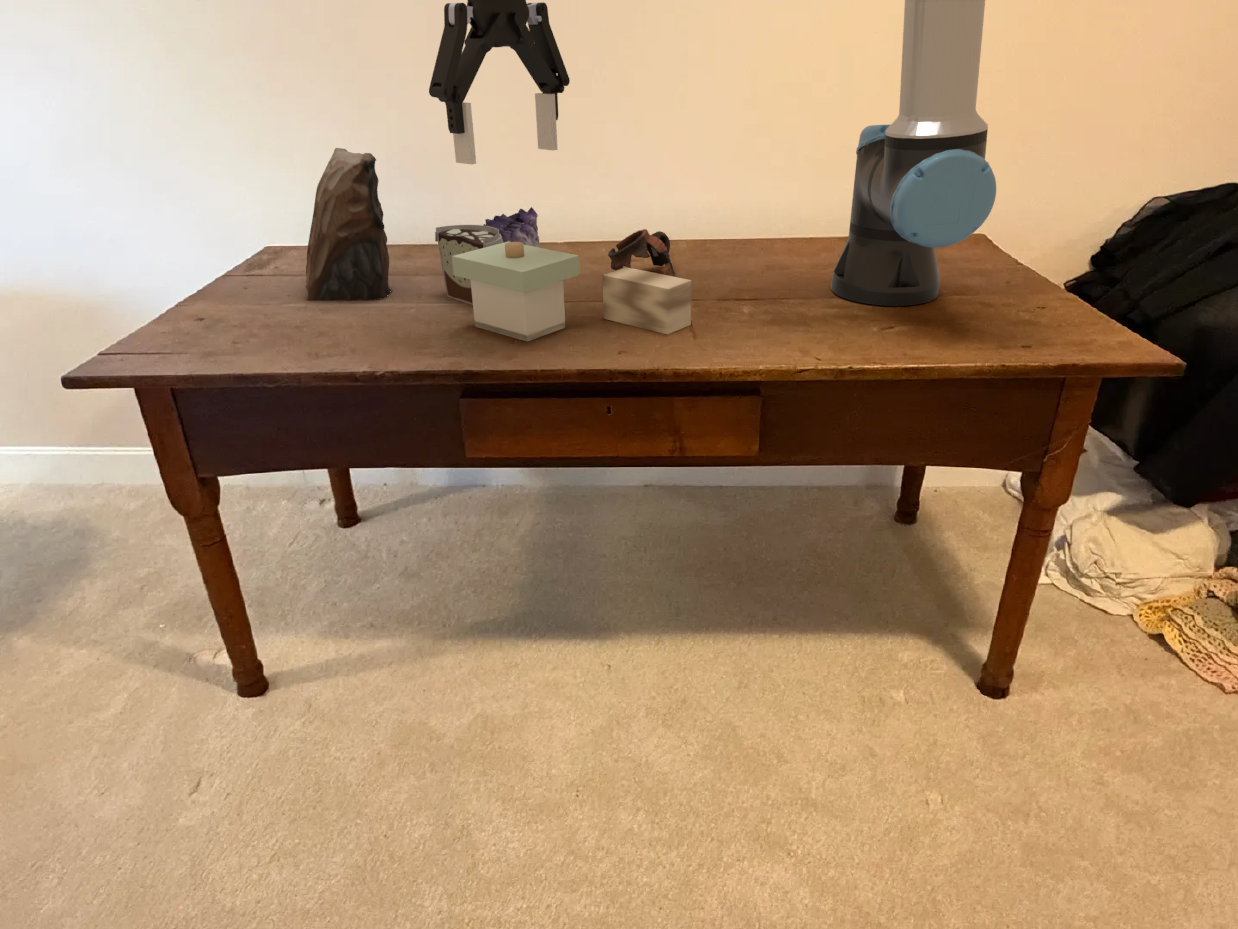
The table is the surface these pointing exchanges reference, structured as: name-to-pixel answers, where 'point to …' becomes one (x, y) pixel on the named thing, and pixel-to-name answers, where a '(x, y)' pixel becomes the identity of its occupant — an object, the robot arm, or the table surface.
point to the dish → (519, 310)
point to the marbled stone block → (647, 300)
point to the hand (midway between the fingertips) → (508, 156)
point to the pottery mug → (643, 250)
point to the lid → (516, 266)
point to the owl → (347, 233)
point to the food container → (459, 242)
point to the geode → (517, 227)
